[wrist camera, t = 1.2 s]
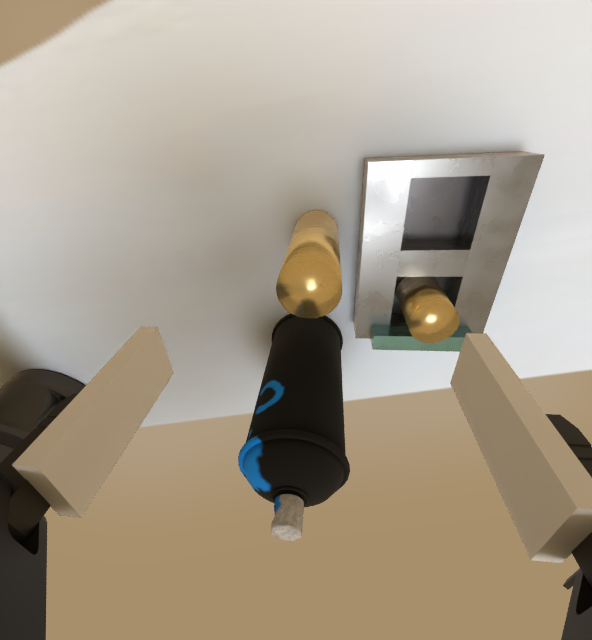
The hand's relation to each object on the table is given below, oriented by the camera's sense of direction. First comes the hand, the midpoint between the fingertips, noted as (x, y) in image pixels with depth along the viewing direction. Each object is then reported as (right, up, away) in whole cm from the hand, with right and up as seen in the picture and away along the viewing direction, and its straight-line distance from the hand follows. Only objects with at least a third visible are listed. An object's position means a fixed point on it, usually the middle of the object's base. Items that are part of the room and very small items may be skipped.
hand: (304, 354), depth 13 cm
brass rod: (+2, +10, +15) cm, 18 cm away
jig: (+12, +8, +15) cm, 21 cm away
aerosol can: (+1, -1, +22) cm, 22 cm away
